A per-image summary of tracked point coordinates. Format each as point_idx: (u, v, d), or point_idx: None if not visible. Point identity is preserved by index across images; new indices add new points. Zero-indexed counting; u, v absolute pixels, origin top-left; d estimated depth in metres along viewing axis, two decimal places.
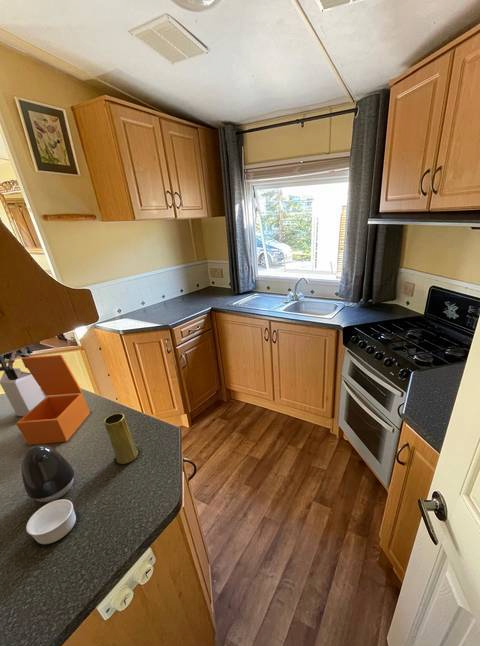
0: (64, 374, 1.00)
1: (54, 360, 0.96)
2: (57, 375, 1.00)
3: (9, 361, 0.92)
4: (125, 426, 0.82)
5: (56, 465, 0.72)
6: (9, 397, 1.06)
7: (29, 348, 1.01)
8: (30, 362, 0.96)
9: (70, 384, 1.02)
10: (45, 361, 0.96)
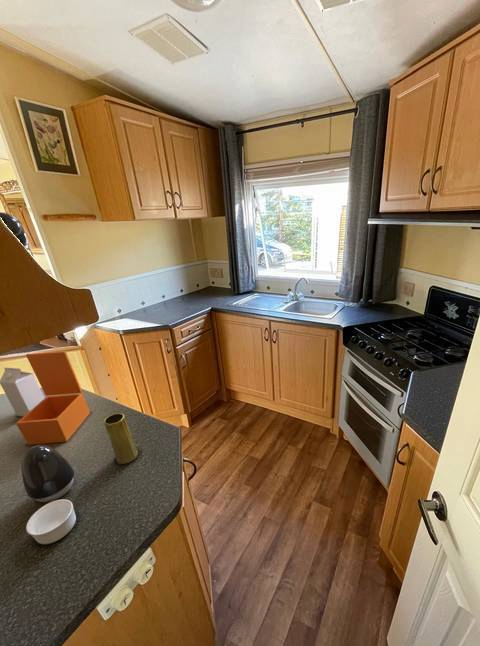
0: (66, 372, 1.01)
1: (58, 356, 0.98)
2: (59, 373, 1.01)
3: None
4: (125, 426, 0.82)
5: (56, 465, 0.72)
6: (9, 397, 1.06)
7: None
8: (34, 358, 0.98)
9: (71, 383, 1.03)
10: (49, 357, 0.98)
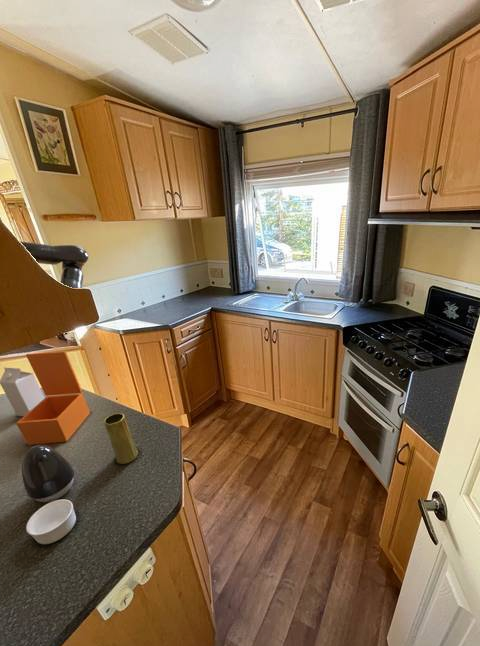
0: (66, 372, 1.01)
1: (58, 356, 0.98)
2: (59, 373, 1.01)
3: None
4: (125, 426, 0.82)
5: (56, 465, 0.72)
6: (9, 397, 1.06)
7: None
8: (34, 358, 0.98)
9: (71, 383, 1.03)
10: (49, 357, 0.98)
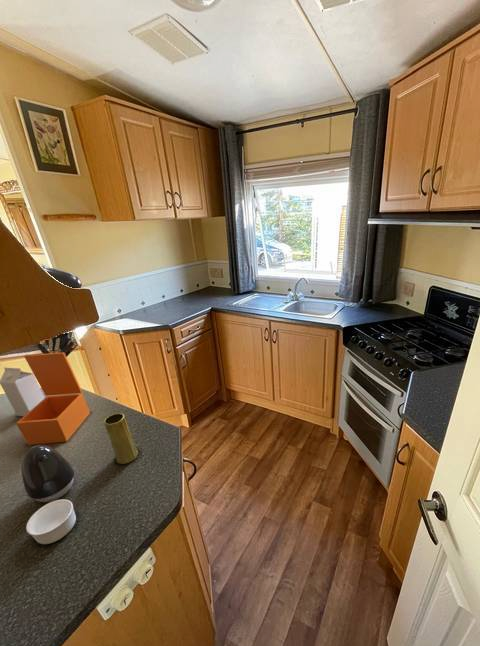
0: (65, 373, 1.00)
1: (56, 358, 0.97)
2: (58, 374, 1.00)
3: None
4: (125, 426, 0.82)
5: (56, 465, 0.72)
6: (9, 397, 1.06)
7: None
8: (32, 360, 0.97)
9: (71, 383, 1.03)
10: (47, 359, 0.97)
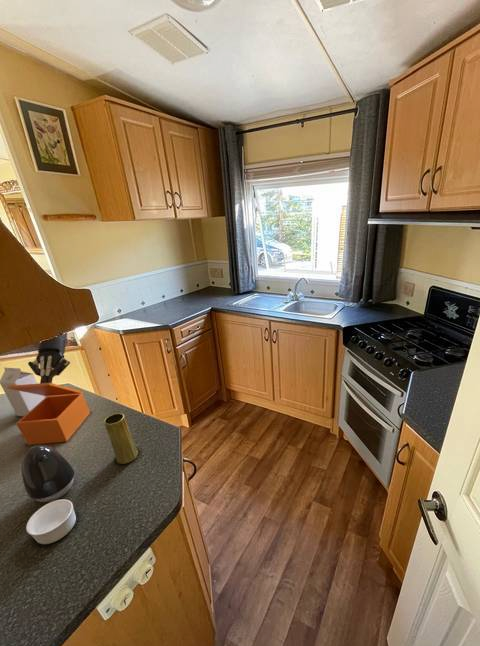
0: (59, 389, 0.97)
1: (44, 386, 0.91)
2: (52, 390, 0.97)
3: None
4: (125, 426, 0.82)
5: (56, 465, 0.72)
6: (9, 397, 1.06)
7: None
8: (18, 388, 0.90)
9: (68, 392, 1.01)
10: (34, 387, 0.91)
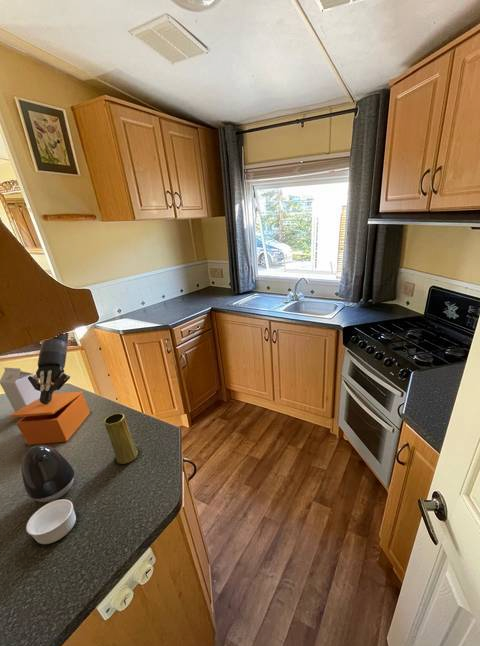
0: None
1: None
2: None
3: None
4: (125, 426, 0.82)
5: (56, 465, 0.72)
6: (9, 397, 1.06)
7: None
8: None
9: None
10: None
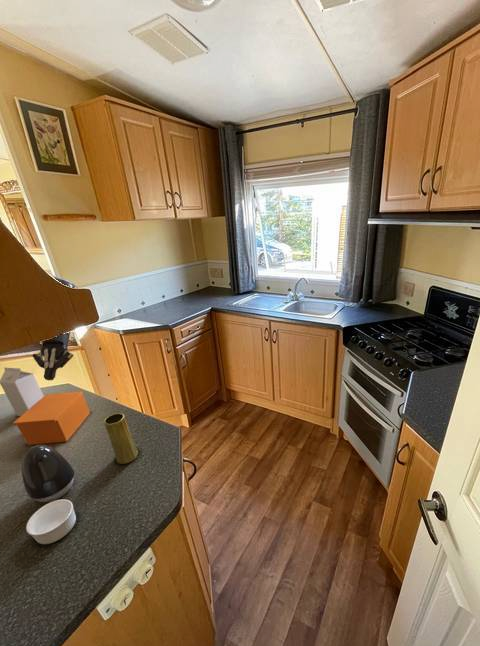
0: None
1: None
2: None
3: None
4: (125, 426, 0.82)
5: (56, 465, 0.72)
6: (9, 397, 1.06)
7: None
8: None
9: None
10: None
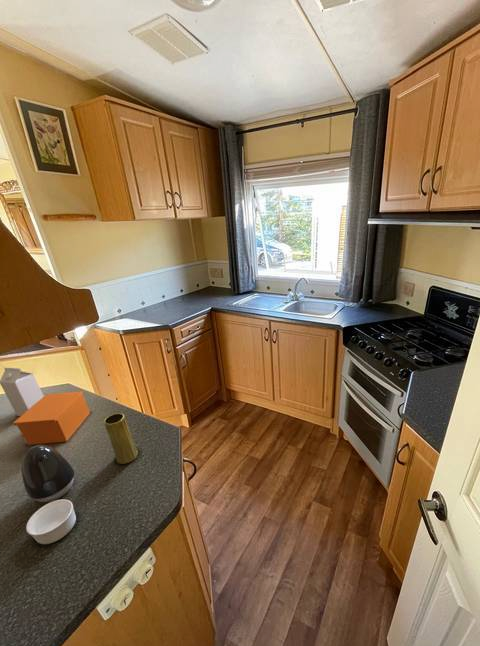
0: None
1: None
2: None
3: None
4: (125, 426, 0.82)
5: (56, 465, 0.72)
6: (9, 397, 1.06)
7: None
8: None
9: None
10: None
